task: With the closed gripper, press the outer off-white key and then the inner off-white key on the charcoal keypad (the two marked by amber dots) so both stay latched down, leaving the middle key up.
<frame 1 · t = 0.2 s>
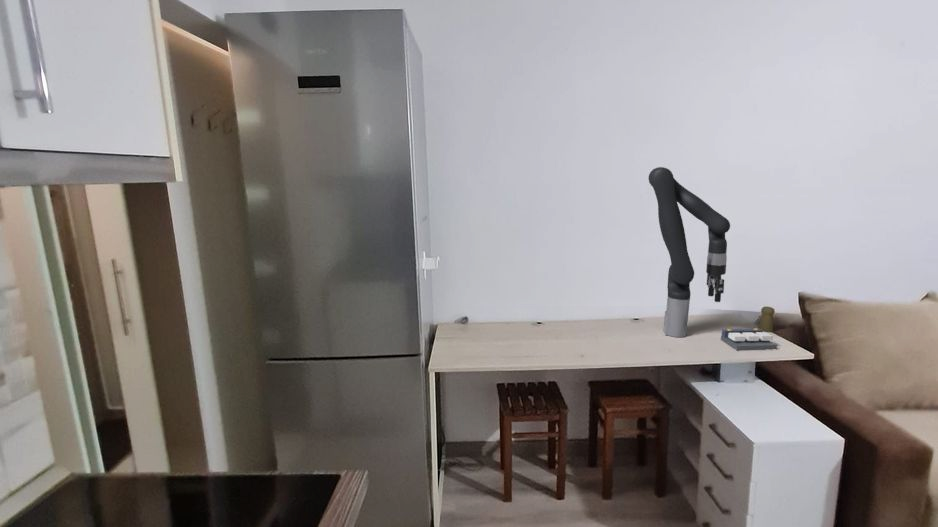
hand: (714, 298, 218), 17 cm above the table, tool pointing down, fingers open, 8 cm apart
outer key: (764, 336, 211), point 4 cm above the table, slide at 0.0 cm
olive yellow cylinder: (765, 330, 230), on the table
inner key: (736, 336, 210), point 4 cm above the table, slide at 0.0 cm
keypad: (741, 344, 212), on the table
middle key: (750, 336, 211), point 4 cm above the table, slide at 0.0 cm
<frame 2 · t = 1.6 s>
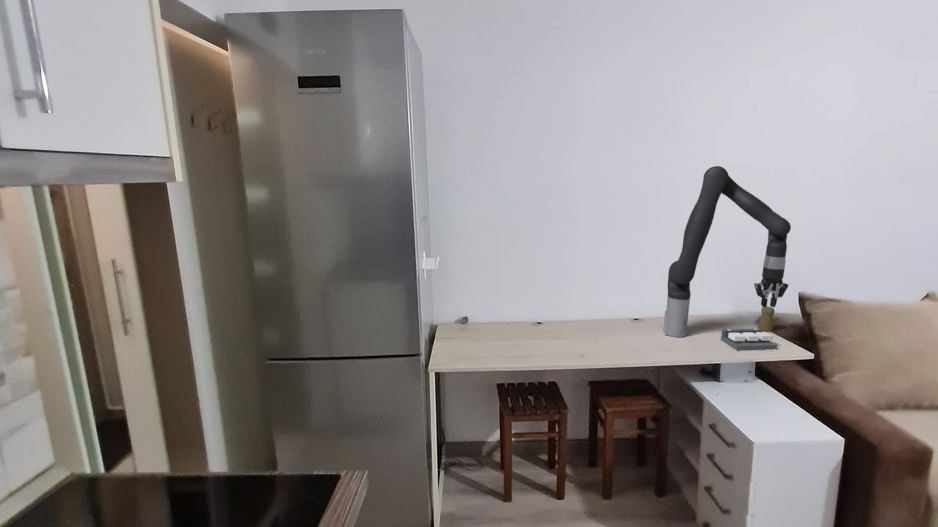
hand: (768, 306, 208), 17 cm above the table, tool pointing down, fingers open, 3 cm apart
nothing on the table moved.
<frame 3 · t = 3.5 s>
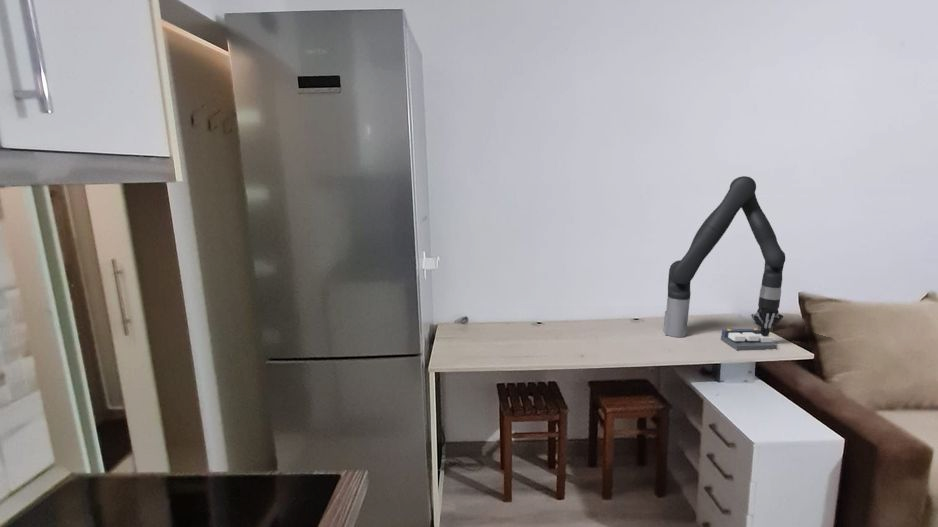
hand: (764, 335, 211), 4 cm above the table, tool pointing down, fingers closed
outer key: (763, 338, 211), point 3 cm above the table, slide at 0.8 cm, touching gripper
everything else where it was.
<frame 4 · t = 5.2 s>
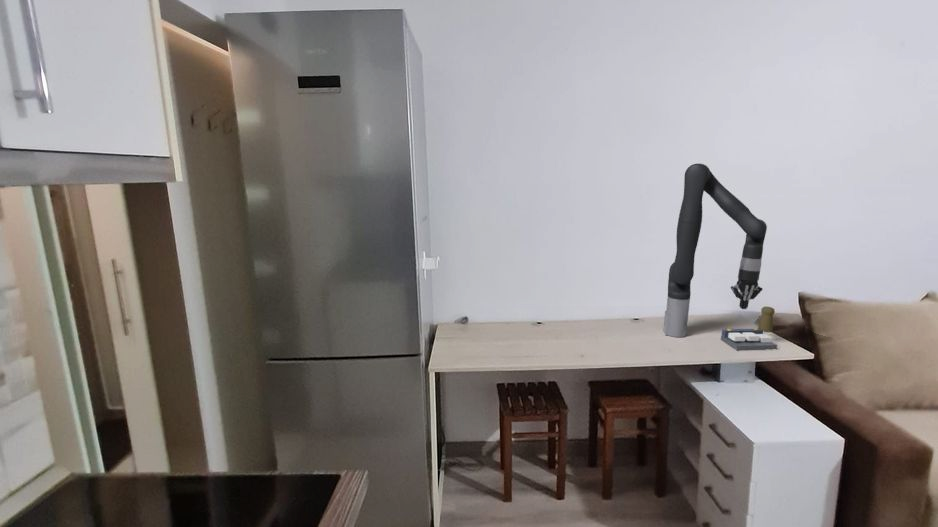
hand: (743, 308, 208), 16 cm above the table, tool pointing down, fingers closed
outer key: (763, 338, 211), point 3 cm above the table, slide at 0.8 cm
everything else where it was.
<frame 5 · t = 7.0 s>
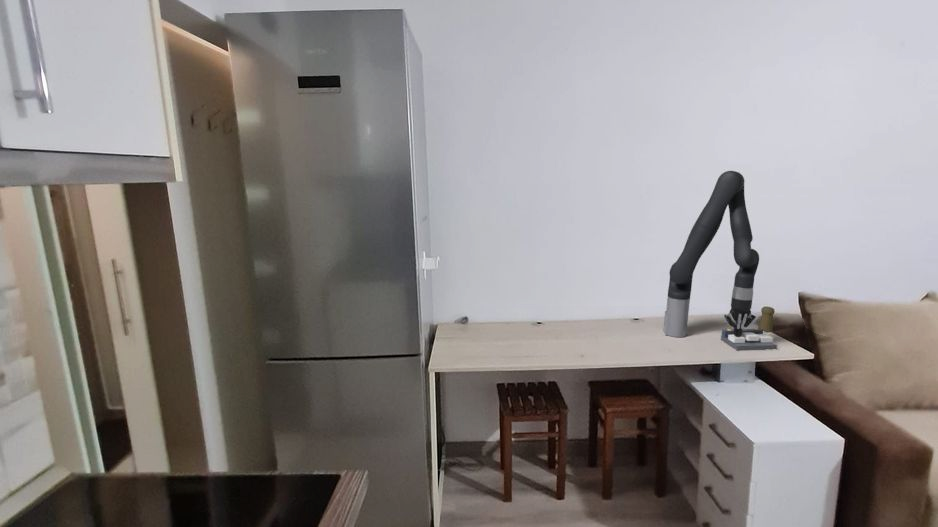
hand: (737, 336, 210), 4 cm above the table, tool pointing down, fingers closed
inner key: (736, 338, 210), point 3 cm above the table, slide at 0.8 cm, touching gripper
everything else where it was.
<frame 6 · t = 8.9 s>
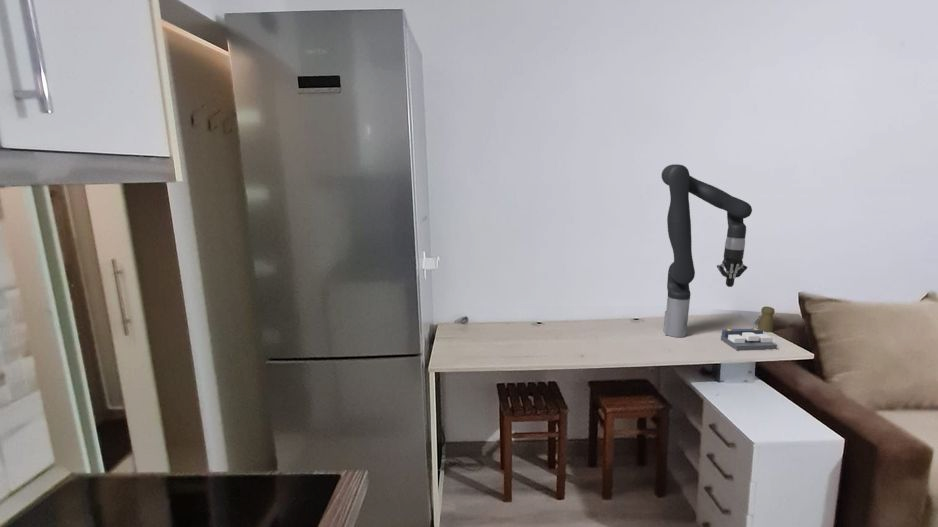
hand: (729, 286, 219), 23 cm above the table, tool pointing down, fingers closed
inner key: (736, 338, 210), point 3 cm above the table, slide at 0.9 cm
everything else where it was.
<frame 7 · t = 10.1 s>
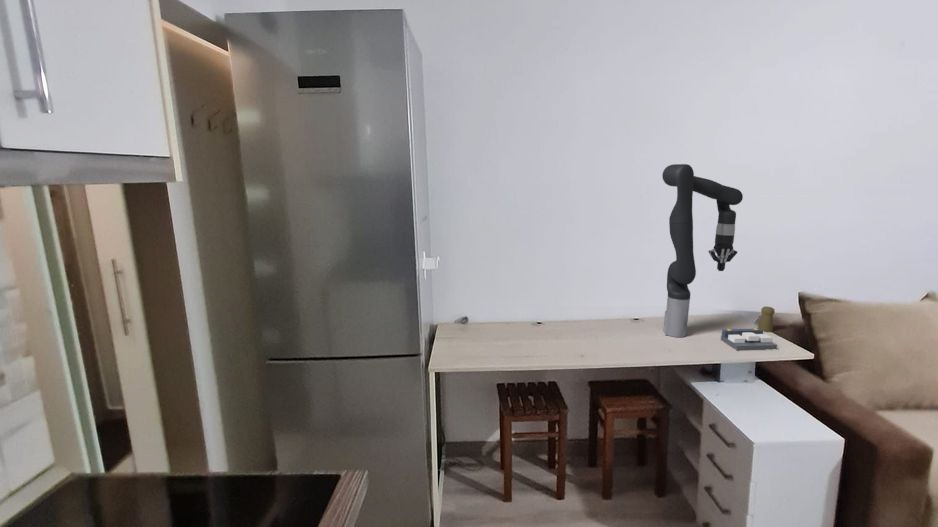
hand: (720, 270, 228), 27 cm above the table, tool pointing down, fingers closed
nothing on the table moved.
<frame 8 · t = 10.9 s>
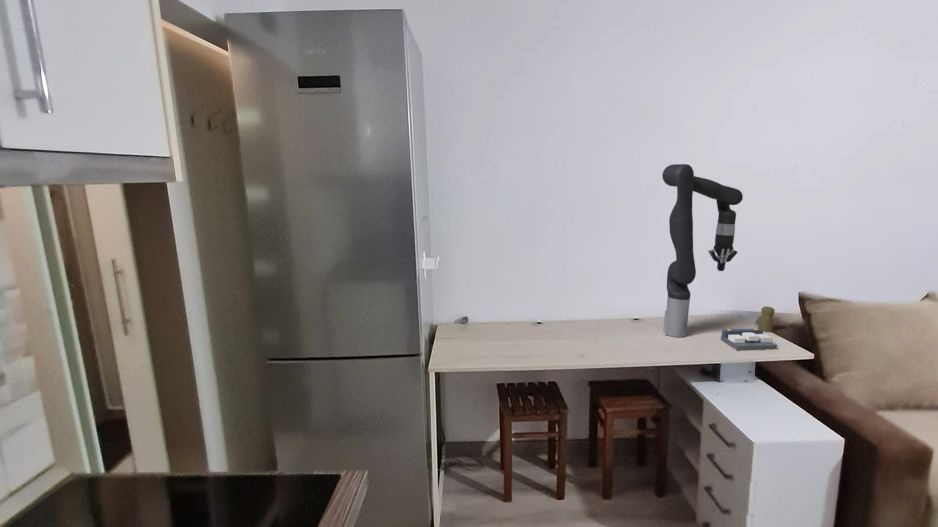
hand: (720, 270, 228), 27 cm above the table, tool pointing down, fingers closed
nothing on the table moved.
at the end: outer key slide at 0.8 cm; inner key slide at 0.9 cm; middle key slide at 0.0 cm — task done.
